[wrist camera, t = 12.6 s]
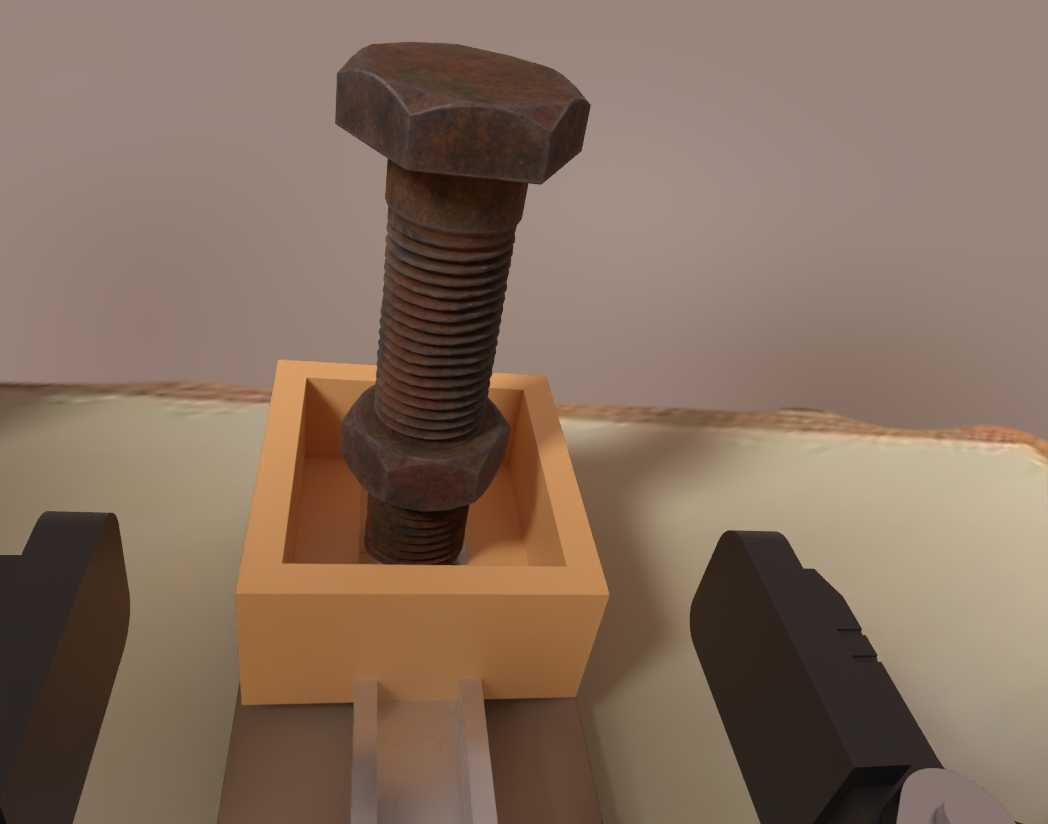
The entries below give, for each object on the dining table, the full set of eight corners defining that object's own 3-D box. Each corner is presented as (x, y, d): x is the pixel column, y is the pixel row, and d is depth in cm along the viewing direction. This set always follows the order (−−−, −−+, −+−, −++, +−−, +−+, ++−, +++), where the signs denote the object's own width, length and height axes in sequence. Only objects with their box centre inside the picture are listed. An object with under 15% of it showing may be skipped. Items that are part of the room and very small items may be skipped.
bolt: (445, 640, 24) (531, 127, 15) (296, 577, 25) (299, 63, 16) (515, 521, 29) (611, 76, 20) (387, 472, 30) (426, 28, 21)
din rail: (340, 1106, 16) (343, 1075, 15) (360, 466, 32) (362, 430, 31) (510, 1084, 17) (524, 1053, 16) (447, 469, 33) (453, 434, 32)
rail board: (174, 1149, 17) (168, 1126, 16) (275, 492, 32) (274, 463, 32) (639, 1088, 19) (655, 1066, 18) (520, 499, 35) (526, 472, 34)
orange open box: (241, 705, 22) (234, 593, 20) (279, 460, 31) (278, 359, 28) (575, 696, 24) (609, 595, 22) (526, 469, 33) (546, 375, 30)
